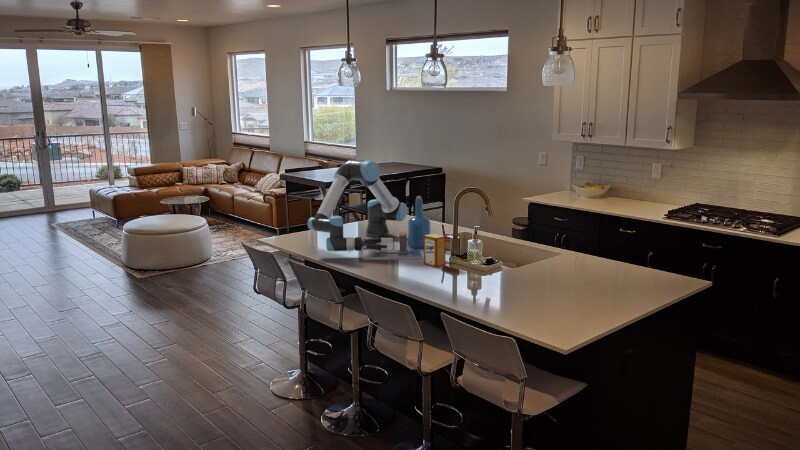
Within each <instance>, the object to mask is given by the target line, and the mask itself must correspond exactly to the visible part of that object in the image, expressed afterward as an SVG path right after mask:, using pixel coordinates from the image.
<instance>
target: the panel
mask: <svg viewBox="0 0 800 450" xmlns="http://www.w3.org/2000/svg"><path fill="white" fill-rule="evenodd" d="M398 250H399V249H381V251H379V250H373V249H365V250H363V252H362V261H383V260H384V261H385V260H386V261H387V260H388V261H389V260H421V259H422V253H421V249H417V248H412V249H408V248H407V250H408V251H409V253H398Z"/></svg>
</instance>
